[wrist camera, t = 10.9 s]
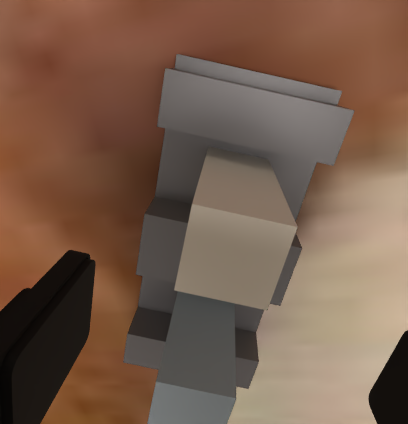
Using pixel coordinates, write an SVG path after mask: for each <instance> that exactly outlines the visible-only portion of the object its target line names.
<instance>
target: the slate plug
mask: <svg viewBox="0 0 408 424" xmlns="http://www.w3.org/2000/svg"><path fill="white" fill-rule="evenodd" d="M235 400H236V360H235V303H230V302H226V301H221V300H217V299H212V298H207V297H203V296H198V295H194V294H189V293H184V292H180V291H178V292H177V297H176V301H175V305H174V309H173V313H172V318H171V322H170V326H169V330H168V334H167V338H166V343H165V347H164V351H163V355H162V359H161V363H160V368H159V372H158V376H157V380H156V385H155V389H154V394H153V399H152V404H151V409H150V414H149V418H148V423H147V424H227V422H228V420H229V417H230V414H231V411H232V409H233V406H234V403H235Z"/></svg>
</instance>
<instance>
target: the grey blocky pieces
mask: <svg viewBox="0 0 408 424" xmlns="http://www.w3.org/2000/svg"><path fill="white" fill-rule="evenodd" d="M341 93H342V91H339V90H334V89H330V88H325V87H321V86H317V85H312V84H308V83H303V82H299V81H294V80H290V79H286V78H281V77H277V76H272V75H268V74H263V73H259V72H255V71H250V70H246V69H241V68H237V67H232V66H228V65H223V64H219V63H215V62H210V61H206V60H201V59H197V58H192V57H188V56H184V55H179V54H177V56H176V63H175V69H173V68H165V74H164V81H163V88H162V95H161V102H160V109H159V116H158V123H157V127H161V128H165V134H164V141H163V147H162V154H161V160H160V167H159V173H158V180H157V186H156V193H155V197H154V199H153V201H152V202H151V204H150V206H149V207H148V209H147V211H146V212H145V214H144V221H143V228H142V235H141V242H140V249H139V256H138V263H137V270H136V275H140V276H143V277H142V284H141V290H140V297H139V303H138V308H137V311H136V313H135V316H134V318H133V321H132V323H131V326H130V328H129V331H128V334H127V340H126V347H125V354H124V361H123V362H124V363H129V364H134V365H138V366H143V367H148V368H152V369H157V370H159V368H160V363H161V359H162V355H163V351H164V347H165V343H166V338H167V334H168V330H169V326H170V322H171V318H172V313H173V309H174V305H175V301H176V297H177V292H178V291H175V290H174V288H175V283H176V279H177V274H178V269H179V264H180V259H181V255H182V250H183V245H184V240H185V235H186V230H187V226H188V221H189V216H190V211H191V206H192V202H193V199H194V195H195V192H196V188H197V185H198V182H199V178H200V175H201V171H202V168H203V164H204V161H205V157H206V154H207V151H208V147H209V146H210V147H214V148H219V149H223V150H227V151H232V152H236V153H241V154H245V155H250V156H254V157H259V158H263V159H268V160H269V162H270V164H271V166H272V169H273V171H274V173H275V176H276V178H277V180H278V183H279V185H280V187H281V190H282V192H283V194H284V197H285V199H286V201H287V204H288V206H289V208H290V211H291V213H292V215H293V218H294V220H295V222H296V219H297V216H298V213H299V210H300V208H301V205H302V202H303V199H304V196H305V194H306V191H307V188H308V185H309V182H310V180H311V177H312V174H313V171H314V168H315V166H316V163H317V162H319V163H323V164H328V165H332V166H334V163H335V161H336V158H337V155H338V153H339V150H340V148H341V145H342V142H343V140H344V137H345V134H346V132H347V129H348V127H349V124H350V121H351V119H352V116H353V113H354V110H351V109H348V108H345V107H341V106H338V105H337V104H338V101H339V99H340V96H341ZM301 250H302V247H301V244H300V242H299V240H298V237H297V235H296V233H295V236H294V239H293V241H292V244H291V247H290V250H289V252H288V255H287V258H286V261H285V263H284V266H283V269H282V272H281V274H280V277H279V280H278V282H277V285H276V288H275V291H274V293H273V296H272V299H271V302H270V304H274V305H279V306H280V305H281V302H282V300H283V297H284V294H285V292H286V289H287V286H288V284H289V281H290V279H291V276H292V273H293V271H294V268H295V265H296V263H297V260H298V258H299V255H300V252H301ZM263 311H264V310H263V309H258V308H254V307H249V306H244V305H240V304H235V360H236V386H237V387H242V388H246V389H249V386H250V383H251V381H252V378H253V376H254V373H255V370H256V368H257V365H258V362H259V360H258V349H257V339H256V331H257V328H258V325H259V322H260V319H261V317H262V314H263Z"/></svg>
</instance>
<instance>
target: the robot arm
mask: <svg viewBox="0 0 408 424" xmlns="http://www.w3.org/2000/svg"><path fill="white" fill-rule="evenodd" d="M94 275H95V261H94V260H91V259H90V255H89V254H87V253H82V252H78V251H73V250H69V251H67V252H66V253H65V254H64V255H63V257H62V258H61V259H60V260H59V261H58V262H57V263H56V264H55V265H54V266H53V267H52V268H51V269H50V270H49V271H48V272H47V273H46V274H45V275H44V276H43V277H42V278H41V279H40V280H39V281H38V282H37V283H36V284H35V285H34V286H33V287H32V288H31V289H30V288H26V289H23V290H22V291H21V292H19V293H18V294H17V295H16V296H15V297H14V298H13V299H12V300H11V301H10V302H9V303H8V304H7V305H6V306H5V307H4V308H3V309H2V310H1V311H0V424H40V423H41V421H42V419H43V418H44V416H45V414H46V412H47V411H48V409H49V407H50V405H51V403H52V402H53V400H54V398H55V396H56V395H57V393H58V391H59V389H60V387H61V386H62V384H63V382H64V380H65V378H66V377H67V375H68V373H69V371H70V370H71V368H72V366H73V364H74V362H75V361H76V359H77V357H78V355H79V353H80V352H81V350H82V348H83V346H84V345H85V343H86V340H87V338H88V335H89V330H90V319H91V308H92V297H93V286H94ZM369 405H370V408H371V410H372V413H373V415H374V417H375V420H376V422H377V424H408V331H405V332H404V334H403V335H402V337H401V339H400V341H399V342H398V344H397V346H396V348H395V349H394V351H393V353H392V354H391V356H390V358H389V360H388V361H387V363H386V365H385V367H384V368H383V370H382V372H381V374H380V375H379V377H378V379H377V381H376V382H375V384H374V386H373V388H372V389H371V391H370V393H369Z"/></svg>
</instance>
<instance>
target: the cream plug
mask: <svg viewBox="0 0 408 424" xmlns="http://www.w3.org/2000/svg"><path fill="white" fill-rule="evenodd" d="M297 228H298V227H297V225H296V222H295V220H294V218H293V215H292V213H291V211H290V208H289V206H288V204H287V201H286V199H285V197H284V194H283V192H282V190H281V187H280V185H279V183H278V180H277V178H276V176H275V173H274V171H273V169H272V166H271V164H270V162H269V160H268V159H263V158H259V157H254V156H250V155H245V154H241V153H236V152H232V151H227V150H223V149H219V148H214V147H210V146H209V147H208V151H207V154H206V157H205V161H204V164H203V168H202V171H201V175H200V178H199V182H198V185H197V188H196V192H195V195H194V199H193V202H192V206H191V211H190V216H189V221H188V226H187V230H186V235H185V240H184V245H183V250H182V255H181V259H180V264H179V269H178V274H177V279H176V283H175V288H174V290H175V291H180V292H184V293H189V294H194V295H198V296H203V297H207V298H212V299H217V300H221V301H226V302H230V303H235V304H240V305H244V306H249V307H254V308H258V309H263V310H268V307H269V304H270V302H271V299H272V296H273V293H274V291H275V288H276V285H277V282H278V280H279V277H280V274H281V272H282V269H283V266H284V263H285V261H286V258H287V255H288V252H289V250H290V247H291V244H292V241H293V239H294V236H295V233H296V230H297Z"/></svg>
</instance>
